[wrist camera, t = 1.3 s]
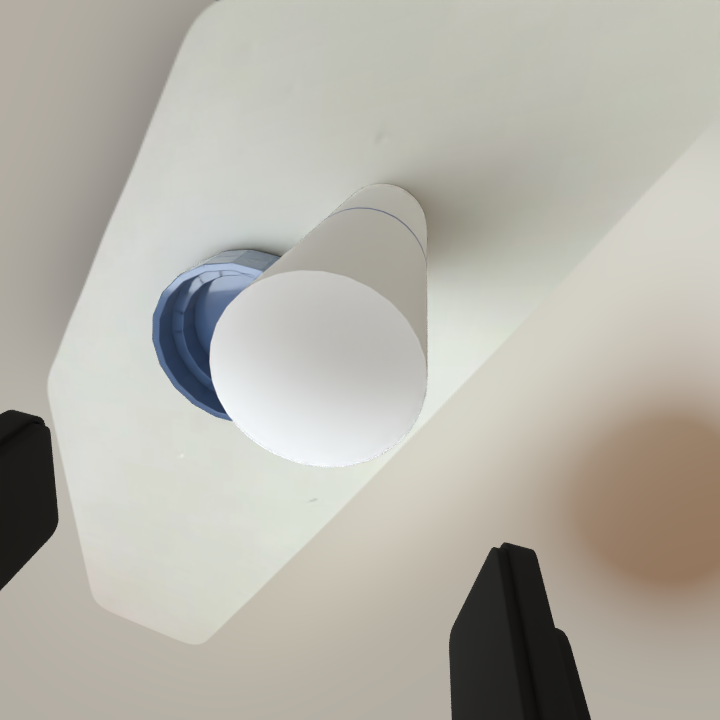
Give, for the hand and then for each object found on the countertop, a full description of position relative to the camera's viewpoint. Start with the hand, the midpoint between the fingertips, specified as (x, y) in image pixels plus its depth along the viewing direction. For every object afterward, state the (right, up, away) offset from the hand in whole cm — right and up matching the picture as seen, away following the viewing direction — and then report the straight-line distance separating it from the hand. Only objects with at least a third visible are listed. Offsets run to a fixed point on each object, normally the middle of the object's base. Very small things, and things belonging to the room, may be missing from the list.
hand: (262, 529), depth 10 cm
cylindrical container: (+4, +14, +28) cm, 31 cm away
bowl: (-7, +6, +33) cm, 34 cm away
